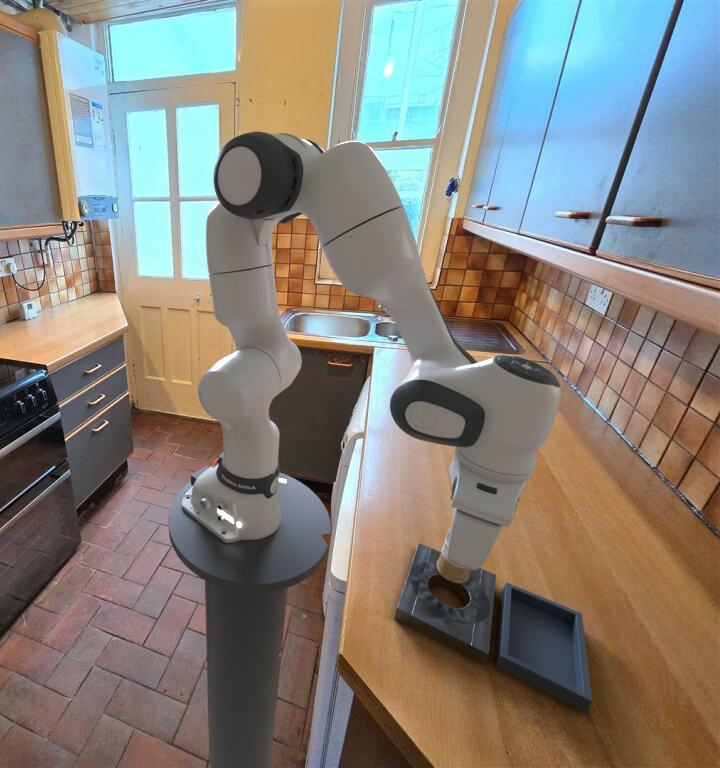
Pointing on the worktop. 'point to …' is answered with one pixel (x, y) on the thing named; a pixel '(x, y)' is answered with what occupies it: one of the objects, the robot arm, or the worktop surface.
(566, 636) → the basin tray
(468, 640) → the drain plate
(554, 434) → the worktop surface
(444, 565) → the sprinkles bottle
